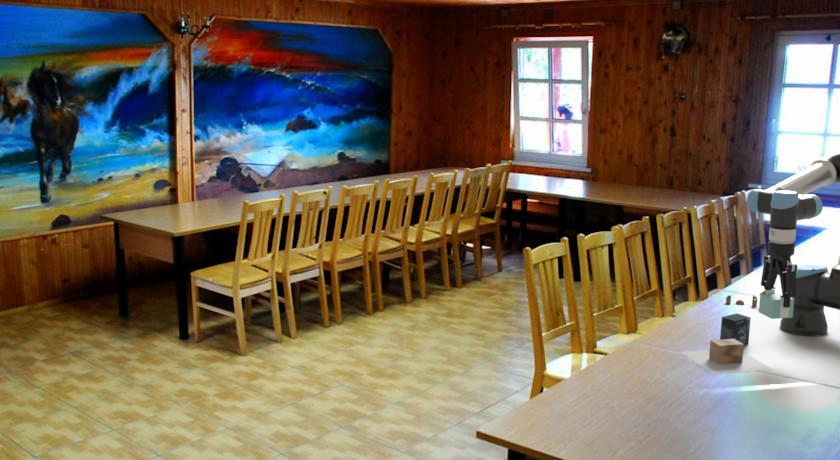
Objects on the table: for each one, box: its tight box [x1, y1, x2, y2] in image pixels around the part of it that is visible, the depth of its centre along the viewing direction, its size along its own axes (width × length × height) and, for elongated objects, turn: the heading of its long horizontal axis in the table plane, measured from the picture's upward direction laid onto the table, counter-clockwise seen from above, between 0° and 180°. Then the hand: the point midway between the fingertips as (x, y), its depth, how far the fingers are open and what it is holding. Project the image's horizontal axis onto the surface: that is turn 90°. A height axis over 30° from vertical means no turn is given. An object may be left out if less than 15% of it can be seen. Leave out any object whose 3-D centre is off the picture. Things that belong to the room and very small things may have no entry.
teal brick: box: [758, 292, 794, 320], centre depth 252 cm, size 7×7×6 cm
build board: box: [680, 349, 775, 375], centre depth 253 cm, size 20×20×1 cm
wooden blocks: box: [725, 290, 765, 308], centre depth 314 cm, size 30×3×8 cm, turn 63°
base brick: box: [709, 339, 745, 364], centre depth 252 cm, size 8×6×6 cm
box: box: [719, 313, 751, 346], centre depth 268 cm, size 8×6×11 cm
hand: (776, 313), depth 253 cm, fingers closed on teal brick, 7 cm apart
